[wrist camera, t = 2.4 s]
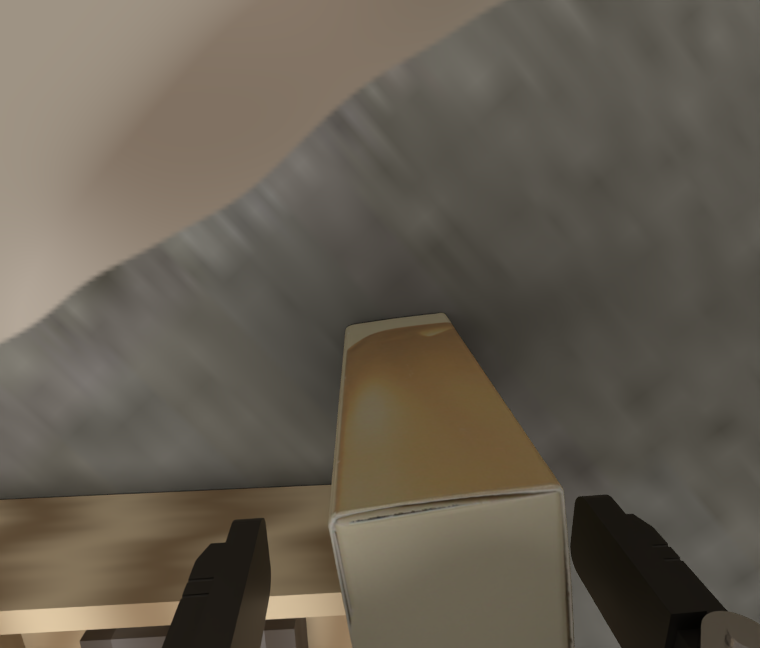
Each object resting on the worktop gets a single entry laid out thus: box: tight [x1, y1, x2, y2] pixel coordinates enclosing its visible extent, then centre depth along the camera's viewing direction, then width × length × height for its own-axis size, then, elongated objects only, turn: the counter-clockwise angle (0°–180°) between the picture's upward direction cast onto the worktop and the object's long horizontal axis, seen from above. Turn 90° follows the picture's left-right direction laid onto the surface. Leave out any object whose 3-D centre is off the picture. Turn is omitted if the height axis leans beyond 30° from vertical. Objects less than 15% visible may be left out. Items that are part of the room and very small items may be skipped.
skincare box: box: [328, 313, 574, 648], centre depth 15 cm, size 6×4×12 cm
